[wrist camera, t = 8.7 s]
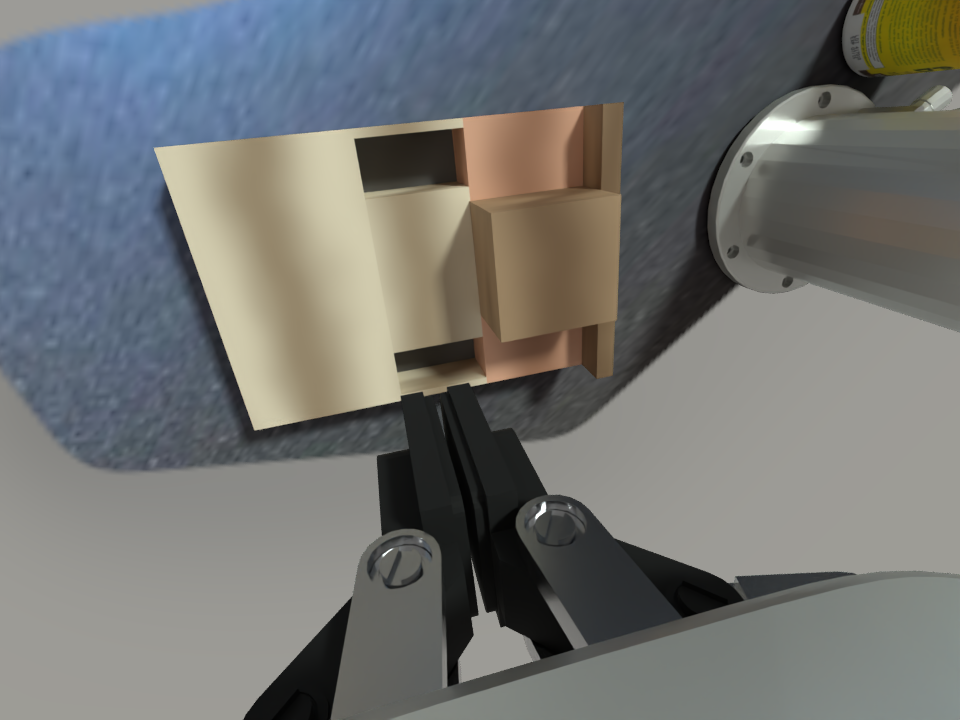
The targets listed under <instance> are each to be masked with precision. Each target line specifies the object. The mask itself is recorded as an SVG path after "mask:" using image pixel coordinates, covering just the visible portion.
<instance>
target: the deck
mask: <svg viewBox="0 0 960 720" xmlns="http://www.w3.org/2000/svg"><path fill="white" fill-rule="evenodd" d="M623 105H624V102H621V103H610V104H600V105H590V106H581V107H570V108H560V109H550V110H539V111H529V112H519V113H509V114H498V115H488V116H478V117H467V118H457V119H447V120H436V121H426V122H416V123H406V124H395V125H385V126H375V127H364V128H354V129H344V130H333V131H323V132H313V133H303V134H292V135H282V136H272V137H261V138H251V139H241V140H231V141H220V142H210V143H200V144H189V145H179V146H169V147H158V148H154V150H155V153H156V155H157V158H158V161H159V164H160V167H161V169H162V172H163V175H164V178H165V181H166V184H167V186H168V189H169V192H170V195H171V198H172V200H173V203H174V206H175V209H176V212H177V214H178V217H179V220H180V223H181V226H182V228H183V231H184V234H185V237H186V240H187V242H188V245H189V248H190V251H191V254H192V256H193V259H194V262H195V265H196V268H197V271H198V273H199V276H200V279H201V282H202V285H203V287H204V290H205V293H206V296H207V299H208V301H209V304H210V307H211V310H212V313H213V315H214V318H215V321H216V324H217V327H218V329H219V332H220V335H221V338H222V341H223V343H224V346H225V349H226V352H227V355H228V358H229V360H230V363H231V366H232V369H233V372H234V374H235V377H236V380H237V383H238V386H239V388H240V391H241V394H242V397H243V400H244V402H245V405H246V408H247V411H248V414H249V416H250V419H251V422H252V425H253V428H254V430H260V429H265V428H270V427H275V426H280V425H285V424H290V423H295V422H300V421H304V420H309V419H314V418H319V417H324V416H329V415H334V414H339V413H344V412H349V411H354V410H359V409H363V408H368V407H373V406H378V405H383V404H388V403H393V402H398V401H401V397H400V396H402V395H407V394H412V393H417V392H423V394H424V396H427V395H432V394H437V393H442V392H447V387H449V386H454V385H460V384H465V383H469V384H470V385H471V387H472V386H477V385H482V384H486V383H491V382H496V381H501V380H506V379H511V378H516V377H521V376H526V375H531V374H536V373H541V372H545V371H550V370H555V369H560V368H565V367H570V366H575V365H580V364H582V365H583V366H584V367H585V368H586V369H587V370H588V371H589V372H590V373H591V374H592V375H593V376H594V377H595V378H596V379H598V378H603V377H608V376H613V355H614V330H615V321H610V322H605V323H600V324H595V325H590V326H585V327H580V328H574V329H569V330H564V331H559V332H554V333H549V334H544V335H539V336H533V337H528V338H523V339H518V340H513V341H508V342H503V343H501V341H500V340H499V339H498V337H497V336H496V335H495V333H494V332H493V331H492V329H491V328H490V327H489V325H488V324H487V323H486V321H485V320H484V319H483V317H482V316H481V314H480V304H479V294H478V284H477V274H476V264H475V254H474V244H473V234H472V224H471V214H470V204H469V201H475V200H482V199H489V198H496V197H504V196H511V195H518V194H525V193H533V192H540V191H547V190H554V189H562V188H569V187H576V186H586V187H590V188H594V189H599V190H603V191H608V192H612V193H616V194H620V180H621V155H622V130H623Z"/></svg>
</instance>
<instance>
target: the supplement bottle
mask: <svg viewBox="0 0 960 720" xmlns="http://www.w3.org/2000/svg"><path fill="white" fill-rule="evenodd" d="M842 48H843V54H844V57H845V60H846V62H847V64H848V65H849V67H850V68H851V69H852V70H853V71H854V72H855V73H857V74H859V75H861V76H864V77H883V76H893V75H903V74H913V73H923V72H932V71H942V70H952V69H960V0H853V2H852V4H851V6H850V8H849V10H848V13H847V15H846V18H845V22H844V27H843V34H842Z"/></svg>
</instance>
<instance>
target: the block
mask: <svg viewBox="0 0 960 720" xmlns="http://www.w3.org/2000/svg"><path fill="white" fill-rule="evenodd" d="M469 204H470V214H471V224H472V234H473V244H474V254H475V264H476V274H477V284H478V294H479V304H480V314H481V316H482V317H483V319H484V320H485V321H486V323H487V324H488V325H489V327H490V328H491V329H492V331H493V332H494V333H495V335H496V336H497V337H498V339H499V340H500V341H501V343H503V342H508V341H513V340H518V339H523V338H528V337H533V336H539V335H544V334H549V333H554V332H559V331H564V330H569V329H574V328H580V327H585V326H590V325H595V324H600V323H605V322H610V321H615V320H617V301H618V272H619V243H620V215H621V194H616V193H612V192H608V191H603V190H599V189H594V188H590V187H586V186H576V187H569V188H562V189H554V190H547V191H540V192H533V193H525V194H518V195H511V196H504V197H496V198H489V199H482V200H475V201H469Z"/></svg>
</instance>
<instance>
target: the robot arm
mask: <svg viewBox="0 0 960 720" xmlns="http://www.w3.org/2000/svg"><path fill="white" fill-rule="evenodd" d="M952 96H953V95H952V93H951V91H950V90H949V89H948V88H947V87H945V86H939V85H938V86H935V87H932V88H931V89H929V90H928V91H927V92H925V93H924V94H923V95H921V96H920V97H919V98H917V99H916V100H915V101H914V102H913V103H912V104H911V105H910V106H899V107H875V105H874V103H873V102H872V101H871V100H870V99H869V98H867V97H866V96H865V95H864V94H863V93H862V92H860V91H858V90H855V89H853V88H851V87H848V86H843V85H833V84H828V85H817V86H809V87H806V88H802V89H799V90H795V91H792V92H790V93H788V94H786V95H784V96H783V97H781V98H779V99H777V100H775V101H774V102H772V103H771V104H770V105H768V106H767V107H766V108H765V109H763V110H762V111H761V112H759V113H758V114H757V115H756V116H755V117H754V118H753V119H752V121H751V122H750V123H749V124H748V125H747V126H746V127H745V128H744V129H743V130H742V132H741V133H740V134H739V136H738V137H737V139H736V140H735V141H734V143H733V144H732V146H731V147H730V149H729V151H728V153H727V154H726V156H725V158H724V160H723V162H722V164H721V166H720V168H719V171H718V174H717V176H716V179H715V182H714V185H713V188H712V192H711V197H710V202H709V207H708V225H707V229H708V236H709V243H710V247H711V250H712V253H713V256H714V258H715V261H716V262H717V264H718V265H719V267H720V268H721V270H722V271H723V273H724V274H726V275H727V276H728V277H729V278H730V279H731V280H732V281H733V282H735V283H737V284H739V285H741V286H743V287H746V288H749V289H751V290H755V291H757V292H762V293H783V292H788V291H791V290H794V289H797V288H800V287H803V286H805V285H807V284H808V283H810V284H813V285H816V286H819V287H822V288H825V289H828V290H831V291H834V292H838V293H840V294H844V295H847V296H850V297H853V298H856V299H859V300H862V301H865V302H868V303H871V304H874V305H877V306H880V307H883V308H886V309H889V310H892V311H896V312H899V313H902V314H905V315H908V316H911V317H914V318H917V319H920V320H923V321H926V322H930V323H932V324H935V325H938V326H941V327H944V328H947V329H951V330H954V331H957V332H960V108H958V109H954V110H945V111H941V110H942V109H943V108H945V107H946V106H947V105H948V104H949V103H950V102H951V101H952ZM400 397H401V403H402V409H403V414H404V420H405V426H406V432H407V438H408V444H409V449H407V450H402V451H397V452H392V453H387V454H383V455H378V456H377V468H378V484H379V499H380V515H381V530H382V536H381V537H379V538H378V539H376V540H375V541H374V542H373V543H371V544H370V545H369V546H368V547H367V549H366V550H365V552H364V553H363V554H362V556H361V559H360V562H359V565H358V568H357V574H356V579H355V585H354V591H353V596H352V597H351V599H349V600H348V602H347V603H346V604H345V605H344V606H343V607H342V608H341V609H340V610H339V611H338V613H336V615H335V616H334V617H333V618H332V619H331V620H330V621H329V622H328V623H327V624H326V626H324V628H323V629H322V630H321V631H320V632H319V633H318V634H317V635H316V636H315V637H314V639H312V641H311V642H310V643H309V644H308V645H307V646H306V647H305V648H304V649H303V650H302V651H301V652H300V654H299V655H298V656H297V657H296V658H295V659H294V660H293V661H292V662H291V663H290V665H289V666H288V667H287V668H286V669H285V670H284V671H283V672H282V673H281V674H280V675H279V676H278V678H277V679H276V680H275V681H274V682H273V683H272V684H271V685H270V686H269V687H268V688H267V690H265V692H264V693H263V694H262V695H261V696H260V697H259V698H258V699H257V701H256V702H255V703H254V705H253V706H252V707H251V709H250V710H249V711H248V712H247V714H246V715H245V718H244V720H960V575H959V574H949V573H935V572H923V571H890V572H875V573H867V574H859V575H857V574H854V573H847V572H817V573H795V574H774V575H752V576H736V577H735V580H734V583H727V582H725V581H724V580H723V579H721V578H719V577H717V576H715V575H713V574H711V573H708V572H706V571H703V570H700V569H697V568H694V567H692V566H689V565H686V564H683V563H680V562H678V561H675V560H672V559H670V558H667V557H664V556H661V555H659V554H656V553H653V552H650V551H647V550H645V549H642V548H639V547H636V546H634V545H631V544H628V543H625V542H623V541H620V540H617V539H614V538H613V537H612V535H611V534H610V533H609V532H608V531H607V530H606V529H605V527H604V526H603V525H602V524H601V523H600V522H599V520H598V519H597V518H596V517H595V516H594V515H593V513H592V512H591V511H590V510H589V509H588V508H587V507H586V506H585V505H583V504H582V503H581V502H579V501H577V500H575V499H573V498H571V497H567V496H562V495H548V494H547V492H546V491H545V488H544V487H543V485H542V483H541V481H540V479H539V477H538V475H537V473H536V471H535V470H534V468H533V466H532V464H531V462H530V460H529V458H528V456H527V454H526V452H525V450H524V449H523V447H522V445H521V443H520V441H519V439H518V437H517V435H516V433H515V432H514V430H513V429H512V428H507V429H502V430H498V431H493V432H491V430H490V428H489V425H488V423H487V421H486V419H485V417H484V414H483V412H482V410H481V408H480V405H479V403H478V401H477V399H476V396H475V394H474V392H473V390H472V388H471V385H470V384H469V383H465V384H460V385H454V386H449V387H447V393H444V394H439V397H440V404H441V411H442V418H443V425H444V432H445V437H444V433H443V430H442V426H441V423H440V419H439V416H438V412H437V409H436V406H435V402H434V399H433V396H428V397H424V394H423V392H417V393H412V394H407V395H402V396H400ZM445 439H446V440H445ZM471 558H472V562H473V565H474V569H475V573H476V577H477V581H478V584H479V588H480V592H481V595H482V599H483V603H484V606H485V610H486V612H487V613H489V612H492V611H496V613H497V617H498V620H499V623H500V627H504V626H506V627H508V628H510V629H512V630H514V631H516V632H518V633H520V634H522V635H524V641H525V644H526V647H527V650H528V652H529V654H530V656H531V658H532V660H533V662H531V663H527V664H524V665H521V666H517V667H514V668H510V669H507V670H504V671H500V672H497V673H493V674H490V675H487V676H483V677H480V678H476V679H473V680H470V681H466V682H463V683H461V667H460V661H459V657H460V656H461V654H462V653H463V651H464V650H465V648H466V647H467V645H468V643H469V642H470V640H471V639H472V637H473V635H474V634H473V628H472V621H471V617H474V616H478V606H477V599H476V591H475V584H474V576H473V570H472V562H471Z"/></svg>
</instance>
